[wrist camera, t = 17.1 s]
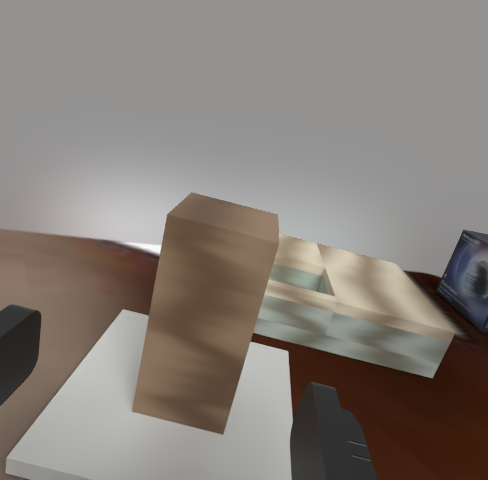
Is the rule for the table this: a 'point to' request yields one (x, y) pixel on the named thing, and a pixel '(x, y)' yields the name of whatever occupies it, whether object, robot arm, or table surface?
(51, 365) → the table surface
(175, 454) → the grey pad
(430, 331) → the slotted wooden base
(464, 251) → the small box
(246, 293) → the brown wooden block
